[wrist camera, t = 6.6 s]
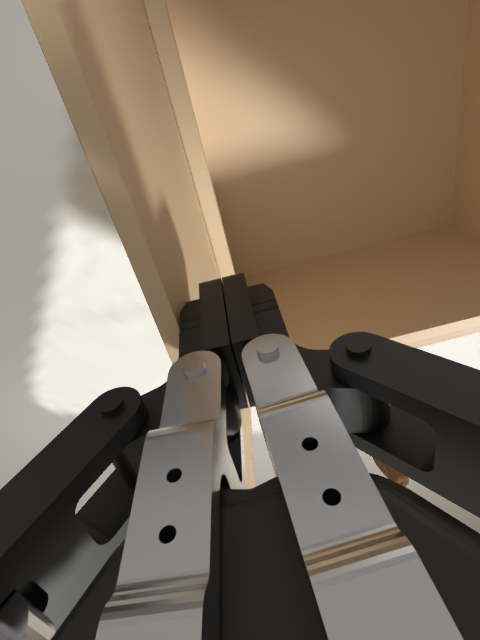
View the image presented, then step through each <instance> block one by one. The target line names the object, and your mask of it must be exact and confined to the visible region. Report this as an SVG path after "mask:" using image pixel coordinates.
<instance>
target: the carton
mask: <svg viewBox="0 0 480 640" xmlns="http://www.w3.org/2000/svg"><path fill="white" fill-rule="evenodd" d="M143 3H144V6H145V10H146V13H147V17H148V21H149V24H150V28H151V31H152V35H153V38H154V42H155V45H156V49H157V53H158V56H159V60H160V63H161V67H162V70H163V74H164V77H165V81H166V85H167V88H168V92H169V95H170V99H171V102H172V106H173V109H174V113H175V116H176V120H177V124H178V127H179V131H180V134H181V138H182V141H183V145H184V148H185V152H186V156H187V159H188V163H189V166H190V170H191V173H192V177H193V180H194V184H195V187H196V191H197V195H198V198H199V202H200V205H201V209H202V212H203V216H204V219H205V223H206V227H207V230H208V234H209V237H210V241H211V244H212V248H213V251H214V255H215V258H216V262H217V266H218V269H219V273H220V276H221V280H222V277H226V276H230V275H234V274H238V273H242V272H244V276H245V280H246V284H247V287H249V286H253V285H257V284H261V283H264V284H265V285H267V286H268V287H270V288H271V289H272V290H273V292H274V295H275V298H276V301H277V303H278V306H279V309H280V312H281V315H282V318H283V320H284V323H285V326H286V329H287V332H288V334H289V337H290V339H292V340H293V342H294V343H295V344H297V345H298V346H301V347H303V348H307V349H313V350H329V348H330V345H331V344H332V342H333V341H334V340H335V339H337V338H338V337H340V336H342V335H344V334H347V333H352V332H368V333H373V334H376V335H379V336H382V337H385V338H388V339H390V340H393V341H396V342H399V343H402V344H405V345H408V346H411V347H414V348H418V347H422V346H426V345H430V344H434V343H438V342H442V341H446V340H450V339H454V338H458V337H462V336H466V335H470V334H474V333H478V332H480V0H143ZM222 283H223V282H222Z"/></svg>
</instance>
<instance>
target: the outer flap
mask: <svg viewBox="0 0 480 640" xmlns="http://www.w3.org/2000/svg"><path fill="white" fill-rule="evenodd" d="M21 1H22V3H23V6H24V8H25V11H26V13H27V15H28V18H29V20H30V22H31V25H32V27H33V30H34V32H35V34H36V37H37V39H38V42H39V44H40V46H41V49H42V51H43V54H44V56H45V59H46V61H47V63H48V66H49V68H50V71H51V73H52V75H53V78H54V80H55V83H56V85H57V87H58V90H59V92H60V95H61V97H62V99H63V102H64V104H65V107H66V109H67V111H68V114H69V116H70V119H71V121H72V123H73V126H74V128H75V131H76V133H77V135H78V138H79V140H80V143H81V145H82V147H83V150H84V152H85V155H86V157H87V159H88V162H89V164H90V167H91V169H92V171H93V174H94V176H95V179H96V181H97V183H98V186H99V188H100V191H101V193H102V195H103V198H104V200H105V203H106V205H107V207H108V210H109V212H110V215H111V217H112V219H113V222H114V224H115V227H116V229H117V231H118V234H119V236H120V239H121V241H122V243H123V246H124V248H125V251H126V253H127V255H128V258H129V260H130V263H131V265H132V267H133V270H134V272H135V275H136V277H137V279H138V282H139V284H140V287H141V289H142V291H143V294H144V296H145V299H146V301H147V304H148V306H149V308H150V311H151V313H152V316H153V318H154V320H155V323H156V325H157V328H158V330H159V332H160V335H161V337H162V340H163V342H164V344H165V347H166V349H167V352H168V354H169V356H170V359H171V361H172V364H174V363H175V362H176V361H177V360H178V359H179V333H180V331H179V324H180V311H181V310H182V308H183V307H184V305H185V303H186V302H188V301H192V300H196V299H199V283H202V282H206V281H210V280H214V279H218V278H220V275H219V271H218V268H217V264H216V260H215V257H214V253H213V250H212V246H211V243H210V239H209V236H208V232H207V229H206V225H205V222H204V218H203V214H202V211H201V207H200V204H199V200H198V197H197V193H196V190H195V186H194V183H193V179H192V176H191V172H190V168H189V165H188V161H187V158H186V154H185V151H184V147H183V144H182V140H181V137H180V133H179V130H178V126H177V122H176V119H175V115H174V112H173V108H172V105H171V101H170V98H169V94H168V91H167V87H166V84H165V80H164V76H163V73H162V69H161V66H160V62H159V59H158V55H157V52H156V48H155V45H154V41H153V38H152V34H151V30H150V27H149V23H148V20H147V16H146V13H145V9H144V6H143V2H142V0H21ZM246 395H247V394H246ZM247 401H248V397H247ZM248 407H249V408H245V409H240V410H241V417H242V424H241V425H242V429H243V433H244V449H245V469H246V488H247V489H251V488H254V487H255V482H254V463H253V446H252V427H251V409H250V404H249V401H248Z"/></svg>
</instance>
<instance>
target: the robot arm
mask: <svg viewBox="0 0 480 640" xmlns="http://www.w3.org/2000/svg"><path fill="white" fill-rule="evenodd" d="M222 282H223V283H222ZM179 331H180V333H179V359H178V360H177V361H176V362H175V363H174V364H173V365H172V366H171V368H170V370H169V373H168V379H167V382H166V383H164V384H163V385H161V386H160V387H158V388H156V389H154V390H152V391H150V392H148V393H146V394H144V395H142V396H140V394H139V392H138V391H137V390H136V389H134V388H130V387H119V388H115V389H112V390H109V391H107V392H105V393H103V394H102V395H100V396H99V397H98V398H97V399H95V400H94V401H93V402H92V403H91V404H90V405H89V406H88V407H87V408H86V409H85V410H84V411H83V412H82V413H81V414H80V415H78V416H77V417H76V418H75V419H74V420H73V421H72V422H71V423H70V424H69V425H68V426H67V427H66V428H65V429H64V430H63V431H62V432H61V433H60V434H59V435H57V437H55V438H54V439H53V440H52V441H51V442H50V443H49V444H48V445H47V446H46V447H45V448H44V449H43V450H42V451H41V452H40V453H39V454H38V455H36V456H35V458H33V459H32V460H31V461H30V462H29V463H28V464H27V465H26V466H25V467H24V468H23V469H22V470H21V471H20V472H19V473H18V474H17V475H16V476H14V477H13V478H12V479H11V480H10V481H9V482H8V483H7V484H6V485H5V486H4V487H3V488H2V489H1V490H0V640H480V534H479V533H478V532H476V531H475V530H473V529H471V528H470V527H468V526H467V525H465V524H463V523H462V522H460V521H459V520H457V519H456V518H454V517H452V516H451V515H449V514H448V513H446V512H444V511H443V510H441V509H440V508H438V507H436V506H435V505H433V504H432V503H430V502H428V501H427V500H425V499H424V498H422V497H421V496H419V495H417V494H416V493H414V492H413V491H411V490H409V489H408V488H406V487H404V486H403V485H401V484H399V483H396V482H394V481H392V480H390V479H387V478H385V477H381V476H379V475H375V474H371V473H369V472H368V470H367V468H366V467H365V465H364V463H363V461H362V459H361V457H360V455H359V453H358V451H357V449H356V448H358V449H360V450H362V451H364V452H365V453H367V454H369V455H370V456H372V457H374V458H376V459H377V460H379V461H381V462H383V463H384V464H386V465H388V466H390V467H391V468H393V469H395V470H397V471H398V472H400V473H402V474H404V475H405V476H407V477H409V478H411V479H413V480H414V481H416V482H418V483H419V484H421V485H423V486H425V487H426V488H428V489H430V490H432V491H433V492H435V493H437V494H439V495H441V496H442V497H444V498H446V499H448V500H449V501H451V502H453V503H455V504H456V505H458V506H460V507H462V508H463V509H465V510H467V511H469V512H470V513H472V514H474V515H476V516H477V517H479V518H480V370H477V369H475V368H472V367H469V366H466V365H463V364H460V363H457V362H454V361H451V360H448V359H446V358H443V357H440V356H437V355H434V354H431V353H428V352H425V351H422V350H419V349H417V348H414V347H411V346H408V345H405V344H402V343H399V342H396V341H393V340H390V339H388V338H385V337H382V336H379V335H376V334H373V333H368V332H352V333H347V334H344V335H342V336H340V337H338V338H337V339H335V340H334V341H333V342H332V344H331V345H330V348H329V350H313V349H307V348H303V347H301V346H298V345H297V344H295V343H294V342H293V340H292V339H290V337H289V334H288V332H287V329H286V326H285V323H284V320H283V318H282V315H281V312H280V309H279V306H278V303H277V301H276V298H275V295H274V292H273V290H272V289H271V288H270V287H268V286H267V285H265V284H264V283H261V284H257V285H253V286H249V287H247V284H246V280H245V276H244V272H242V273H238V274H234V275H230V276H226V277H222V280H221V278H218V279H214V280H210V281H206V282H202V283H199V299H196V300H192V301H188V302H186V303H185V305H184V307H183V308H182V310H181V311H180V324H179ZM246 394H247V395H246ZM247 397H248V401H249V404H250V407H252V406H256V410H257V414H258V417H259V421H260V424H261V428H262V431H263V435H264V438H265V441H266V445H267V448H268V451H269V454H270V458H271V461H272V464H273V468H274V471H275V475H276V477H275V478H273V479H271V480H269V481H267V482H265V483H263V484H261V485H259V486H257V487H254V488H251V489H247V488H246V469H245V449H244V433H243V429H242V425H241V424H242V417H241V410H240V409H245V408H249V407H248V401H247ZM355 447H356V448H355ZM111 463H113V465H114V466H115V468H116V469H115V470H114V472H113V473H112V474H111V475H110V476H109V477H108V478H107V480H106V481H105V482H104V483H103V484H102V485H101V486H100V488H99V489H98V490H97V491H96V492H95V493H94V494H93V496H92V497H91V498H90V499H89V500H88V501H87V502H86V504H85V505H84V506H83V507H82V508H81V509H80V511H79V512H78V513H77V514H76V515H75V509H76V506H77V503H78V501H79V499H80V498H81V497H82V495H83V494H84V493H85V492H86V491H87V490H88V489H89V488H90V486H91V485H92V484H93V483H94V482H95V481H96V480H97V479H98V477H99V476H100V475H101V474H102V473H103V472H104V471H105V470H106V468H107V467H108V466H109V465H110V464H111Z"/></svg>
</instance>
